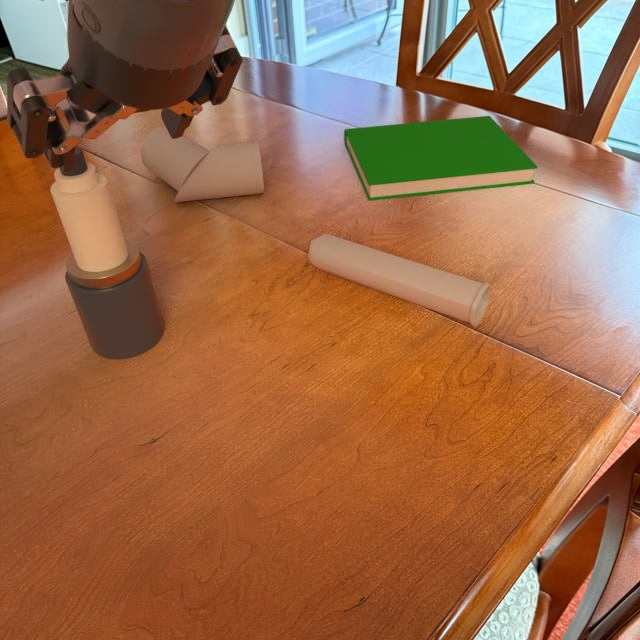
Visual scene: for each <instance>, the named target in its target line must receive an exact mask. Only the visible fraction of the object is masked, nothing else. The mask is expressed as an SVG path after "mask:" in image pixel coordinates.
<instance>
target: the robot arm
mask: <svg viewBox="0 0 640 640" xmlns="http://www.w3.org/2000/svg"><path fill="white" fill-rule="evenodd" d="M235 2H236V0H68V3H67V24H66V25H67V28H66V40H67V50H68V59H67V60H66V62H65V63H64V64H63V65H62V66H61V68H60V69H59V70H60V71H59V73H58V74H59V75H54V76H49V77H44V78H40V79H34V78H33V75H32V74H31V72H30V70H29V69H27V68H25V67H19V68H16V69H13V70H11V71H10V72H8V74H7V75H6V122H7V124H8V126H9V128H10V129H11V130H12V132H13V134H14V135H15V138H16V139H17V141H18V143H19V146H20V147H21V151H22V153H23V155H24V157H25V158H26V159H35V158H38V157H40V156H42V155H43V154H44V155H45V157H46V159H47V161H48V164H49V165H50V167H51V168H52V169H53V170H55V169H58V168H59V167H60V169H61V171H62V172H63V173H65V172H69V171H72V170H73V168H74V157H75V148H74V147H77V145H79V144H80V143H81V142H82V141H83V140H89V141H90V140H93V141H95V140H97V139H98V138H99V137H100V136H102V134H104V133H105V132H106V131H107V130H109V129H110V128H111V127H112V126H113V125H114V124H116V123H117V122H118V121H120V120H123V121H124V120H127V119H128V118H129V117H130V116H132V115H134V114H138V113H144V112H145V113H146V112H149V111H157V110H158V111H159V110H161V112H160V117H161V121H162V123H163V124H164V127H166V128H167V130H168V132H169V134H170V136H171V138H172V139H176V138H179V137H182V136H183V135H184V134H185V131H186V130H187V129H188V128H189V127H190V126H191V124H192V121H193V119H194V117H195V116H197V115H199V114H200V113H201V112H202V111H203V110H204V107H203V105H204V104H206V103H208V102H210V104H211V105H212V106H219V105H221V104H223V103H225V102H226V100H227V99H228V97H229V94H230V92H231V90H232V88H233V85H234V83H235V80H236V78H237V75H238V74H239V71H240V69H241V67H242V64H243V62H244V59H243V57H242V55H241V52H240V51H239V49H238V47H237V45H236V42H235V40H234V39H233V37H232V35H231V33H230V31H229V29H228V27H227V22H228V20H229V18H230V15H231V13H232V11H233V8H234V5H235ZM88 112H89V113H91V114H93V115H94V116H93V117H90V115H89V113H88ZM63 118H65V119H66V122H67V123H68V128H67V129H65V127H64V125H63V123H62V121H61V120H62V119H63Z"/></svg>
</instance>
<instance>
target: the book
mask: <svg viewBox="0 0 640 640" xmlns="http://www.w3.org/2000/svg"><path fill="white" fill-rule="evenodd" d="M343 135H344V136H343V139H344V140H343V141H344V146H345V148H346V150H347V153H348V155H349V157H350V160H351V162H352V165H353V168H354V169H355V172H356V174H357V177H358V179H359V181H360V184H361V186H362V188H363V191H364V193H365V195H366V198H367V200H368V201H377V200H388V199H398V198H406V197H415V196H427V195H435V194H445V193H453V192H463V191H464V192H465V191H472V190H473V191H474V190H483V189H492V188H503V187H511V186H512V187H513V186H519V185H520V186H522V185H531V184H535V180H533V176H534V172H535V170H536V169H538V165H537V164H536V163H535V162H534V161H533V160H532V159H531V158H530V157H529V156H528V155H527V153H525V152H524V150H523V149H522V148H521V147H520V146H519V145H518V144H517V142H515V141H514V140H513V138H511V137H510V135H508V134H507V132H506V131H505V130H504V129H503V128H502V127H501V126H500V124H498V122H496V121H495V120H494V118H492V117H491V115H483V116H473V117H472V116H471V117H460V118H451V119H450V118H449V119H439V120H428V121H419V122H417V121H416V122H408V123H407V122H405V123H397V124H386V125H374V126H362V127H352V128H345V129H344V132H343Z"/></svg>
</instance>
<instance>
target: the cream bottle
mask: <svg viewBox="0 0 640 640" xmlns="http://www.w3.org/2000/svg"><path fill="white" fill-rule="evenodd" d="M74 148H75V157H74V168H73V170H72V171H69V172H65V173H63V172H62V171H61V169H60V167H59V168H56V170H55V171H54V173H53V177H54V180H55V181H54V182H53V183H52V184H51V186H50V189H49V190H50V193H51V196H52V199H53V203H54V205H55V207H56V210H57V213H58V216H59V218H60V221H61V224H62V227H63V230H64V232H65V235H66V238H67V240H68V244H69V246H70V249H71V251H72V252H73V255H74V257H75V260H76V263H77V265H78V267H79V268H80V269H82V270H84V271H88V272H101V271H106V270H110V269H113V268H115V267H117V266H119V265H120V264H122V263H123V262H124V261H125V260H126V259H127V257H128V249H127V246H126V242H125V239H126V238H125V236H124V231H123V229H122V225H121V222H120V219H119V214H118V212H117V207H116V205H115V201H114V197H113V194H112V191H111V190H112V189H111V187H110V183H109V180H108V178H107V176H106V175H105V174H104V173H100V172H97V169H96V166H95V164H93V163H91V162H87V161H86V157H85V153H84V151H83V149H82V148H81V147H79V146H75V147H74ZM72 252H71V253H72Z"/></svg>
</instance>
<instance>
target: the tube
mask: <svg viewBox="0 0 640 640" xmlns="http://www.w3.org/2000/svg"><path fill="white" fill-rule="evenodd" d="M307 260H308V261H309V262H310V263H311V264H312V266H314V267H315V269H317V270H318V271H321V272H324V273H326V274H328V275H329V274H330V275H332V276H335V277H338V278H340V279H344V280H346V281H349V282H352V283H355V284H357V285H360V286H364V287H366V288H369V289H372V290H374V291H378V292H380V293H383V294H385V295H389V296H392V297H394V298H397V299H400V300H403V301H405V302H408V303H411V304H414V305H417V306H421V307H423V308H426V309H429V310H431V311H434V312H437V313H440V314H443V315H446V316H448V317H451V318H453V319H454V318H455V319H456V320H459V321H463V322H466V323H468V324H470V325H471V327H474V328H477V327H478V326H479V324H480V322H481V321H482V319H483V318H484V316H485V313H486V312H487V309H488V307H489V304H490V300H491V295H492V287H491V284H490V282H479V281H476V280H473V279H470V278H467V277H463V276H461V275H458V274H454V273H452V272H448V271H445V270H441V269H439V268H437V267H436V268H435V267H433V266H429V265H426V264H423V263H420V262H417V261H414V260H410V259H407V258H404V257H401V256H397V255H394V254H392V253H388V252H385V251H383V250H379V249H376V248H373V247H369V246H366V245H363V244H360V243H357V242H354V241H350V240H347V239H344V238H341V237H338V236H336V235H331V234H328V233H324V234H322V235H319V236H317V237H316V238H314V239H313V238H312V240H310V244H309V248H308V253H307Z"/></svg>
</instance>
